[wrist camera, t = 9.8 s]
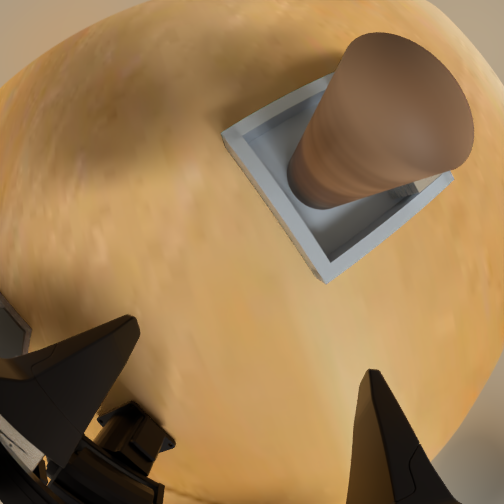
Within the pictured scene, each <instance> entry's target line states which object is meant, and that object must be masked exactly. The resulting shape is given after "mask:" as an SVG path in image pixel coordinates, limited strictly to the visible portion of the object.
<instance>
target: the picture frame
mask: <svg viewBox="0 0 504 504" xmlns="http://www.w3.org/2000/svg"><path fill="white" fill-rule="evenodd" d="M31 331H32V329H31V328H30V326H29V325H28V324H27V323H26V322H25V321H24V320H23V319H22V318H21V317H20V315H19V314H18V313H17V312H16V311H15V310H14V309H13V307H12V306H11V305H10V304H9V303H8V301H7V300H6V299H5V298H4V296H3V295H2V294H1V293H0V358H4V359H9V358H14V357H18V356H21V355H24V354H28V348H29V342H30V336H31Z"/></svg>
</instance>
